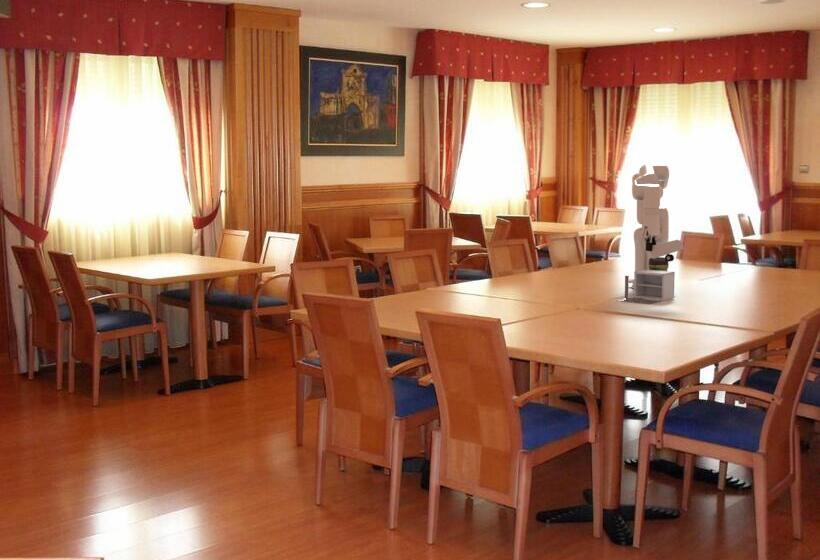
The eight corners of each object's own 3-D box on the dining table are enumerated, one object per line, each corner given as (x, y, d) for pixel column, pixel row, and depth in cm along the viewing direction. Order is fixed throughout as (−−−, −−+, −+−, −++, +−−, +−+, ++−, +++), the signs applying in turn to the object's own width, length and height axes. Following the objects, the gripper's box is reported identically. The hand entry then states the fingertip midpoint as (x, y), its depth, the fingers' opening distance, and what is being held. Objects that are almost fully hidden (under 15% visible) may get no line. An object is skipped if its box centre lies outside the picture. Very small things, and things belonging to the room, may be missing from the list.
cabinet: (634, 297, 479) (634, 271, 478) (644, 295, 487) (644, 269, 485) (663, 300, 469) (664, 273, 467) (674, 298, 476) (674, 271, 474)
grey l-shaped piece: (615, 300, 471) (615, 277, 470) (627, 298, 479) (627, 275, 478) (649, 304, 459) (649, 280, 457) (661, 301, 467) (661, 278, 465)
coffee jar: (663, 293, 495) (664, 256, 493) (670, 295, 487) (671, 257, 485) (645, 293, 494) (646, 256, 491) (652, 295, 486) (652, 258, 483)
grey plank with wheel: (654, 266, 463) (685, 256, 456) (648, 246, 465) (678, 236, 457) (657, 266, 467) (687, 256, 460) (650, 246, 468) (680, 236, 461)
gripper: (652, 210, 472) (651, 248, 475) (635, 212, 460) (635, 251, 462) (667, 211, 467) (666, 249, 470) (650, 213, 455) (649, 252, 458)
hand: (650, 250), depth 466 cm, fingers closed on grey plank with wheel, 3 cm apart
